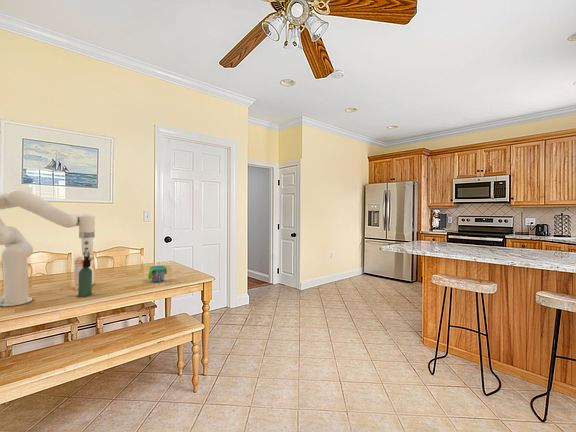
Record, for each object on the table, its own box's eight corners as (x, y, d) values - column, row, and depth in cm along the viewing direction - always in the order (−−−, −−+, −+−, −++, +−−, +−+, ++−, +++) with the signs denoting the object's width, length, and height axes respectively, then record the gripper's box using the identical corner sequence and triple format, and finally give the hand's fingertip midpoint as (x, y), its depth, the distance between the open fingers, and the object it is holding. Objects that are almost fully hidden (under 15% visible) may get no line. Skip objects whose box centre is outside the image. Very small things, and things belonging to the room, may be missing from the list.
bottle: (81, 297, 160) (82, 264, 160) (76, 295, 164) (77, 263, 164) (93, 294, 166) (94, 262, 166) (88, 292, 169) (89, 261, 169)
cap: (91, 266, 166) (91, 261, 166) (84, 267, 162) (84, 261, 162) (87, 265, 167) (87, 260, 168) (80, 266, 164) (80, 261, 164)
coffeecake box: (82, 284, 188) (82, 255, 188) (94, 283, 191) (94, 254, 190) (74, 290, 174) (74, 259, 174) (87, 289, 177) (87, 258, 176)
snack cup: (161, 277, 207) (161, 264, 207) (172, 279, 203) (172, 265, 203) (142, 282, 193) (142, 268, 193) (154, 284, 189) (154, 269, 189)
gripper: (94, 236, 160) (94, 268, 160) (95, 234, 174) (95, 263, 174) (77, 236, 156) (77, 269, 156) (80, 234, 170) (80, 264, 170)
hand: (87, 266), depth 165 cm, fingers closed on cap, 3 cm apart
